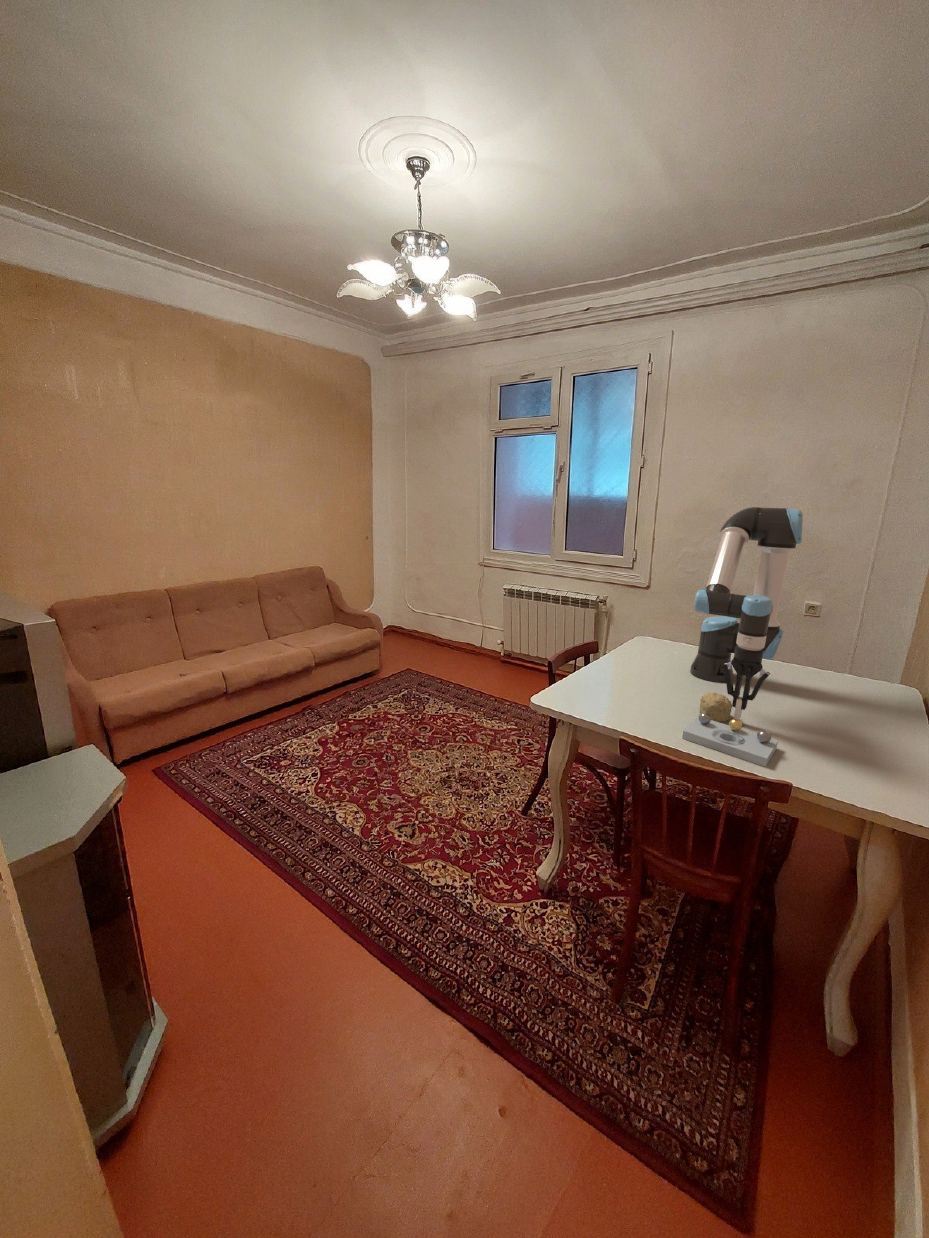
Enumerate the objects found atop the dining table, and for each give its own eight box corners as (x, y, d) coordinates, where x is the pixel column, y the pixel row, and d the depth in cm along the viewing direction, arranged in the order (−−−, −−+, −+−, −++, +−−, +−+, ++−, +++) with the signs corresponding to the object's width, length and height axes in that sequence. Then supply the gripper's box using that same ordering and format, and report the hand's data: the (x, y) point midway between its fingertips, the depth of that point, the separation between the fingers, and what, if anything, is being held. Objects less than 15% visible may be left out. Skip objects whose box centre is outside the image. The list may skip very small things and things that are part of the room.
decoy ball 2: (757, 737, 145) (759, 726, 144) (771, 742, 143) (773, 731, 142) (754, 742, 143) (756, 731, 142) (768, 746, 141) (770, 735, 140)
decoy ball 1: (700, 719, 156) (701, 709, 155) (711, 723, 153) (713, 713, 152) (696, 723, 153) (697, 713, 152) (708, 727, 151) (709, 716, 150)
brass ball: (729, 726, 152) (731, 715, 151) (742, 730, 150) (744, 719, 149) (726, 730, 149) (728, 719, 148) (739, 734, 147) (741, 723, 146)
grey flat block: (697, 723, 159) (698, 716, 158) (776, 748, 145) (778, 740, 144) (682, 738, 149) (683, 730, 149) (765, 766, 135) (767, 758, 135)
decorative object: (695, 719, 169) (688, 700, 164) (717, 701, 170) (711, 681, 165) (718, 734, 161) (712, 715, 156) (741, 715, 162) (735, 695, 157)
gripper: (723, 644, 154) (711, 714, 160) (771, 654, 146) (757, 728, 152) (730, 639, 159) (718, 707, 166) (776, 648, 151) (763, 719, 157)
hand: (737, 717), depth 159 cm, fingers closed
